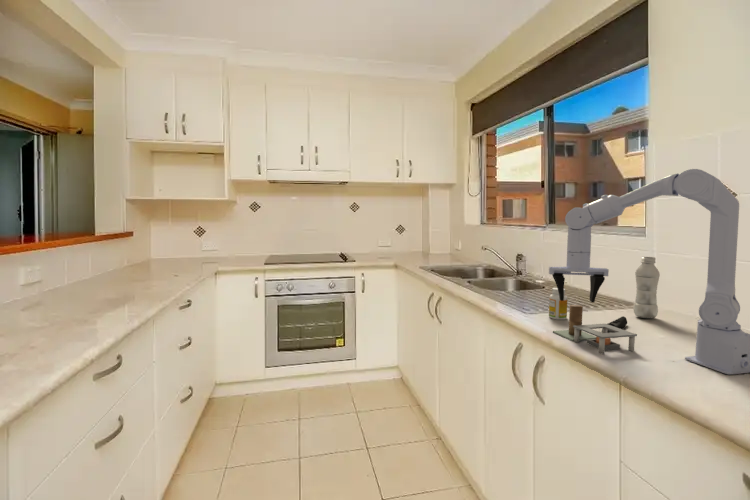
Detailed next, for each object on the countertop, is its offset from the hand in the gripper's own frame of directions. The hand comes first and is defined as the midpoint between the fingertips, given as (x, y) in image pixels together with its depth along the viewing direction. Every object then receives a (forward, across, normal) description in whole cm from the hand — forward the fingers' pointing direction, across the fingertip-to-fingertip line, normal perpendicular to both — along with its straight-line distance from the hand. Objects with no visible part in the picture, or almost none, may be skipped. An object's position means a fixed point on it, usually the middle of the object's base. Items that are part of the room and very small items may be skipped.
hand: (576, 300), depth 107 cm
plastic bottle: (+10, +26, +27) cm, 39 cm away
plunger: (+11, +5, -8) cm, 14 cm away
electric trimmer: (+10, +13, +10) cm, 19 cm away
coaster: (+10, 0, 0) cm, 10 cm away
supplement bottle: (+10, -1, +20) cm, 22 cm away
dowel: (+10, 0, 0) cm, 10 cm away
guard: (+10, +5, -8) cm, 13 cm away
